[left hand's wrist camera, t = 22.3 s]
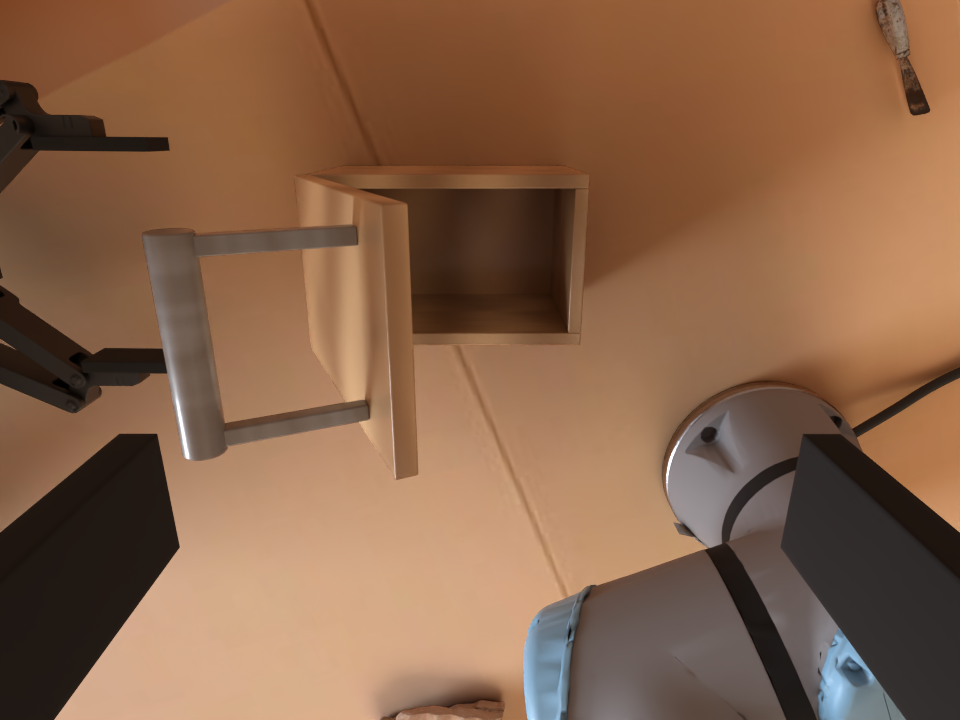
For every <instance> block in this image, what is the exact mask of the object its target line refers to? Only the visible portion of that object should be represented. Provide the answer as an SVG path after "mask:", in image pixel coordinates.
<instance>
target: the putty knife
mask: <svg viewBox="0 0 960 720" xmlns="http://www.w3.org/2000/svg"><path fill="white" fill-rule="evenodd" d="M876 14H877V18H878V21H879V24H880V27H881V29H882V31H883V34H884V36H885V38H886V40H887V42H888V44H889V46H890V48H891V50H892V52H893V53H894V55H895V57H896V59H900V66H901V72H902V78H903V84H904V88H905V93H906V98H907V102H908V106H909V109H910V113H911V114H912V115H920V114H926V113H928V112H930V108H929V105H928V103H927V101H926V98H925V95H924V93H923V90H922V88H921V86H920V83H919V81H918V78H917V76H916V74H915V72H914V70H913V68H912V66H911V64H910V62H909V59H908V57H907V56H908V55H910V49H909V38H908V32H907V26H906V21H905V16H904V13H903V9H902V6H901V3H900V0H878V1H877V3H876Z"/></svg>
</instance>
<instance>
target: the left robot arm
mask: <svg viewBox="0 0 960 720" xmlns="http://www.w3.org/2000/svg"><path fill="white" fill-rule="evenodd" d="M958 378H960V367H959V368H957V369H955V370H953V371H951V372H948V373H946V374H944V375H942V376H940V377H938V378H936V379H935V380H933V381H931V382H929V383H927V384H925V385H924V386H922V387H920V388H919V389H917V390H915V391H914V392H912V393H911V394H909V395H907V396H906V397H904V398H903V399H901V400H900V401H898V402H897V403H895V404H893V405H892V406H890V407H888V408H887V409H885V410H883V411H882V412H880V413H878V414H877V415H875V416H873V417H872V418H870V419H868V420H867V421H865V422H863V423H861V424H860V425H858V426H856V427H855V428H853V429H852V428H851V427H850V425H849V424H848V423H847V421H846V420H845V419H844V417H843V416H842V415H841V414H840V413H839V412H838V411H837V410H836V409H835V408H834V407H833V406H832V405H830V404H829V403H828V402H826V401H825V400H824V399H823V398H821V397H820V396H818V395H817V394H815V393H814V392H812V391H810V390H808V389H805V388H803V387H800V386H797V385H794V384H789V383H784V382H772V381H766V382H754V383H748V384H744V385H740V386H736V387H733V388H730V389H728V390H725V391H723V392H721V393H719V394H717V395H715V396H713V397H711V398H710V399H708V400H707V401H705V402H704V403H702V404H701V405H700V406H698V407H697V408H696V409H695V410H694V411H693V412H691V413H690V414H689V415H688V416H687V418H686V419H685V420H684V421H683V422H682V423H681V425H680V426H679V427H678V429H677V430H676V432H675V433H674V435H673V437H672V439H671V441H670V443H669V445H668V448H667V450H666V453H665V457H664V462H663V469H662V480H663V487H664V492H665V495H666V498H667V500H668V503H669V505H670V507H671V509H672V511H673V513H674V514H675V516H676V518H677V519H678V521H679V522H680V523H681V524H678V523H674V524H675V526H676V528H677V530H678V532H679V534H682V535H686V536H691V537H693V538H695V539H696V540H697V541H698V542H700V543H701V544H703V545H704V546H706V547H707V548H708V549H704V550H701V551H698V552H695V553H692V554H689V555H686V556H683V557H681V558H678V559H675V560H672V561H669V562H666V563H663V564H661V565H658V566H655V567H652V568H649V569H646V570H643V571H640V572H638V573H635V574H632V575H629V576H626V577H622V578H619V579H616V580H613V581H610V582H607V583H604V584H601V585H598V586H597V585H590V586H587V587H585V588H584V589H583V590H582V591H581V592H579V593H577V594H575V595H572V596H570V597H568V598H565V599H563V600H561V601H558V602H555V603H553V604H550V605H548V606H546V607H544V608H543V609H542V610H541V611H539V612H538V613H537V615H536V616H535V617H534V619H533V620H532V623H531V625H530V627H529V630H528V634H527V639H526V641H525V649H524V665H523V673H524V694H525V704H526V712H527V720H960V533H959V532H958V531H957V530H956V529H955V528H953V527H952V526H951V525H950V524H949V523H947V522H946V521H945V520H944V519H943V518H941V517H940V516H939V515H938V514H937V513H935V512H934V511H933V510H932V509H931V508H929V507H928V506H927V505H926V504H925V503H923V502H922V501H921V500H920V499H918V498H917V497H916V496H915V495H914V494H912V493H911V492H910V491H909V490H908V489H906V488H905V487H904V486H903V485H902V484H900V483H899V482H898V481H897V480H896V479H894V478H893V477H892V476H891V475H890V474H888V473H887V472H886V471H885V470H883V469H882V468H881V467H880V466H879V465H877V464H876V463H875V462H874V461H873V460H871V459H870V458H869V457H868V456H867V455H865V454H864V453H863V451H862V449H861V447H860V444H859V442H858V440H857V437H858V436H860V435H862V434H864V433H865V432H867V431H869V430H870V429H872V428H874V427H875V426H877V425H879V424H881V423H882V422H884V421H886V420H887V419H889V418H891V417H892V416H894V415H896V414H897V413H899V412H901V411H902V410H904V409H905V408H907V407H908V406H910V405H912V404H913V403H915V402H916V401H918V400H919V399H921V398H922V397H924V396H926V395H927V394H929V393H931V392H933V391H934V390H936V389H938V388H940V387H942V386H944V385H946V384H948V383H950V382H952V381H954V380H956V379H958ZM179 548H180V546H179V541H178V536H177V531H176V526H175V521H174V516H173V511H172V506H171V501H170V496H169V491H168V486H167V481H166V476H165V471H164V466H163V461H162V456H161V451H160V446H159V441H158V436H157V434H119V435H118V436H116V437H115V438H114V439H113V440H111V441H110V442H109V443H108V444H107V445H105V446H104V447H103V448H102V449H101V450H99V451H98V452H97V453H96V454H95V455H93V456H92V457H91V458H90V459H89V460H87V461H86V462H85V463H84V464H83V465H81V466H80V467H79V468H78V469H77V470H75V471H74V472H73V473H72V474H70V475H69V476H68V477H67V478H66V479H64V480H63V481H62V482H61V483H60V484H58V485H57V486H56V487H55V488H54V489H52V490H51V491H50V492H49V493H48V494H46V495H45V496H44V497H43V498H42V499H40V500H39V501H38V502H37V503H35V504H34V505H33V506H32V507H31V508H29V509H28V510H27V511H26V512H25V513H23V514H22V515H21V516H20V517H19V518H17V519H16V520H15V521H14V522H13V523H11V524H10V525H9V526H8V527H7V528H5V529H4V530H3V531H2V532H1V533H0V720H54V719H55V718H56V716H57V715H58V714H59V712H60V711H61V710H62V708H63V707H64V705H65V704H66V703H67V701H68V700H69V699H70V697H71V696H72V694H73V693H74V692H75V690H76V689H77V688H78V686H79V685H80V683H81V682H82V681H83V679H84V678H85V677H86V675H87V674H88V672H89V671H90V670H91V668H92V667H93V666H94V664H95V663H96V662H97V660H98V659H99V657H100V656H101V655H102V653H103V652H104V651H105V649H106V648H107V646H108V645H109V644H110V642H111V641H112V640H113V638H114V637H115V635H116V634H117V633H118V631H119V630H120V629H121V627H122V626H123V624H124V623H125V622H126V620H127V619H128V618H129V616H130V615H131V613H132V612H133V611H134V609H135V608H136V607H137V605H138V604H139V602H140V601H141V600H142V598H143V597H144V596H145V594H146V593H147V591H148V590H149V589H150V587H151V586H152V585H153V583H154V582H155V581H156V579H157V578H158V576H159V575H160V574H161V572H162V571H163V570H164V568H165V567H166V565H167V564H168V563H169V561H170V560H171V559H172V557H173V556H174V554H175V553H176V552H177V550H178V549H179Z"/></svg>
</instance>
